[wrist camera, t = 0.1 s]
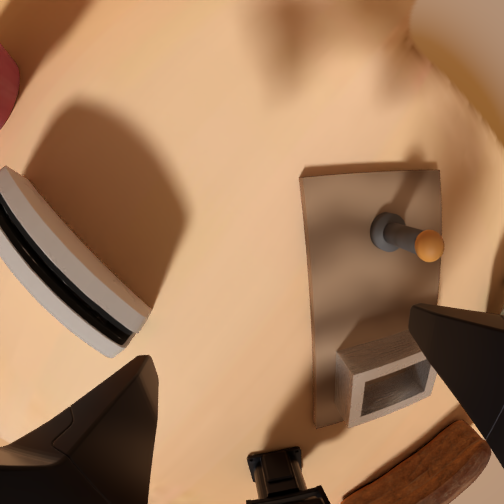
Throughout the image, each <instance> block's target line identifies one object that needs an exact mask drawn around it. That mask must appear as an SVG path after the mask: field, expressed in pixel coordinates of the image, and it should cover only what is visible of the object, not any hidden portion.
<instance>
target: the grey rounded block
mask: <svg viewBox="0 0 504 504" xmlns="http://www.w3.org/2000/svg"><path fill="white" fill-rule="evenodd" d="M0 257H1V258H2V260H3V261H4V263H5V264H6V265H7V267H8V268H9V269H10V270H11V272H12V273H13V274H14V276H15V277H16V278H17V279H18V280H19V281H20V283H21V284H22V285H23V286H24V287H25V288H26V289H27V291H28V292H29V293H30V294H31V295H32V296H33V297H34V298H35V299H36V300H37V301H38V302H39V303H40V304H41V305H42V306H43V307H44V308H45V309H46V310H47V311H48V312H49V313H50V314H51V315H52V316H54V317H55V318H56V319H57V320H58V321H59V322H60V323H61V324H63V325H64V326H65V327H66V328H67V329H68V330H70V331H71V332H72V333H73V334H75V335H76V336H77V337H79V338H80V339H81V340H83V341H84V342H85V343H87V344H88V345H90V346H91V347H93V348H94V349H95V350H97V351H98V352H100V353H101V354H103V355H105V356H106V357H109V358H114V357H115V356H116V355H117V354H119V353H120V352H121V351H122V350H124V349H125V348H126V347H127V345H128V344H129V343H130V341H131V340H132V338H133V337H134V336H135V334H136V333H139V331H140V330H141V328H142V327H143V325H144V324H145V322H146V321H147V319H148V317H149V315H150V313H151V311H152V309H151V308H150V307H149V306H147V305H146V304H145V303H144V302H143V301H142V300H141V299H140V298H139V297H137V296H136V295H135V294H134V293H133V292H132V291H131V290H130V289H129V288H128V287H127V286H126V285H125V284H123V283H122V282H121V281H120V280H119V279H118V278H117V277H116V276H115V275H114V274H113V273H112V272H111V271H110V270H109V269H108V268H107V267H106V266H105V265H104V264H103V263H102V262H101V261H100V260H99V259H98V258H97V257H96V256H95V255H94V254H93V253H92V252H91V251H90V250H89V249H88V248H87V247H86V246H85V245H84V244H83V243H82V241H81V240H80V239H79V238H78V237H77V236H76V235H75V234H74V233H73V232H72V231H71V230H70V229H69V227H68V226H67V225H66V224H65V223H64V222H63V221H62V220H61V218H60V217H59V216H58V215H57V214H56V213H55V212H54V210H53V209H52V208H51V207H50V206H49V205H48V203H47V202H46V201H45V200H44V199H43V197H42V196H41V195H40V194H39V193H38V191H37V190H36V189H35V188H34V186H33V185H32V184H31V183H30V181H29V180H28V179H26V178H25V177H23V176H22V175H20V174H18V173H17V172H15V171H14V170H12V169H11V168H9V167H7V166H4V167H3V168H2V169H1V170H0Z"/></svg>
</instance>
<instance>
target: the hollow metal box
mask: <svg viewBox="0 0 504 504" xmlns="http://www.w3.org/2000/svg"><path fill="white" fill-rule="evenodd" d="M406 367H407V368H406ZM403 368H406V372H404V373H401V374H398V375H396V376H393V377H390V378H388V379H385V380H382V381H379V382H377V383H374V384H371V385H368V386H365V382H367V381H370V380H373V379H376V378H379V377H381V376H384V375H387V374H390V373H392V372H395V371H398V370H400V369H403ZM436 374H437V372H436V371H435V370H434V368H433V367H432V366H431V364H430V363H429V362H428V360H427V359H426V357H425V356H424V354H423V353H422V351H421V349H420V348H419V346H418V345H417V343H416V341H415V340H414V338H413V337H412V335H411V334H410V332H409V329H408V330H405V331H402V332H399V333H396V334H393V335H390V336H387V337H384V338H380V339H377V340H374V341H371V342H367V343H364V344H360V345H357V346H353V347H350V348H346V349H342V350H338V351H336V377H335V401H334V404H335V406H336V407H337V409H338V411H339V413H340V415H341V417H342V418H343V420H344V422H345V424H346V426H347V428H351V427H354V426H357V425H360V424H363V423H366V422H368V421H371V420H374V419H377V418H379V417H382V416H384V415H387V414H390V413H392V412H394V411H397V410H399V409H402V408H404V407H406V406H409V405H411V404H413V403H415V402H417V401H420V400H422V399H424V398H426V397H428V396H430V395H431V392H432V389H433V385H434V382H435V378H436Z"/></svg>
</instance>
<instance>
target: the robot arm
mask: <svg viewBox="0 0 504 504" xmlns="http://www.w3.org/2000/svg"><path fill="white" fill-rule="evenodd" d="M408 329H409V332H410V334H411V335H412V337H413V338H414V340H415V341H416V343H417V345H418V346H419V348H420V349H421V351H422V353H423V354H424V356H425V357H426V359H427V360H428V362H429V363H430V364H431V366H432V367H433V368H434V370H435V371H436V372H437V373H438V375H439V376H440V377H441V379H442V380H443V381H444V383H445V384H446V385H447V387H448V388H449V389H450V391H451V392H452V393H453V395H454V396H455V397H456V399H457V400H458V401H459V403H460V404H461V405H462V407H463V408H464V410H465V411H466V412H467V414H468V415H469V417H470V418H471V419H472V421H473V422H474V424H475V425H476V427H477V428H478V430H479V431H480V433H481V434H482V435H483V437H484V438H485V439H486V442H487V443H488V445H489V446H490V448H491V449H492V451H493V452H494V454H495V455H496V457H497V459H498V460H499V462H500V463H501V465H502V467H503V468H504V315H499V314H492V313H485V312H478V311H471V310H464V309H457V308H451V307H444V306H438V305H431V304H425V303H418V304H415V305H413V306H411V308H410V314H409V323H408ZM158 386H159V380H158V375H157V372H156V369H155V366H154V363H153V360H152V358H151V356H150V355H139V356H137V357H135V358H134V359H133V360H131V361H130V362H129V363H127V364H126V365H125V366H123V367H122V368H121V369H119V370H118V371H117V372H115V373H114V374H113V375H111V376H110V377H109V378H107V379H106V380H105V381H103V382H102V383H101V384H99V385H98V386H97V387H95V388H94V389H93V390H91V391H90V392H88V393H87V394H86V395H84V396H83V397H82V398H80V399H79V400H78V401H76V402H75V403H74V404H72V405H71V407H68V408H67V409H65V410H64V411H63V412H61V413H60V414H58V415H57V416H55V417H54V418H53V419H51V420H50V421H48V422H46V423H45V424H43V425H42V426H40V427H38V428H37V429H35V430H33V431H32V432H30V433H28V434H26V435H25V436H23V437H21V438H20V439H18V440H16V441H14V442H13V443H11V444H9V445H6V446H3V447H0V504H148V494H149V484H150V474H151V466H152V458H153V450H154V442H155V435H156V428H157V420H158ZM247 461H248V465H249V469H250V472H251V476H252V479H253V482H256V487H257V493H258V498H259V499H256V500H246V504H330V502H329V500H328V498H327V496H326V494H325V492H324V490H323V488H322V486H321V485H320V486H316V487H315V488H311V489H307V487H306V484H305V481H304V478H303V475H302V469H301V449H300V447H294V448H290V449H285V450H280V451H275V452H270V453H265V454H259V455H253V456H249V457H247Z"/></svg>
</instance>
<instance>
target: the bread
mask: <svg viewBox="0 0 504 504" xmlns="http://www.w3.org/2000/svg"><path fill="white" fill-rule="evenodd" d="M490 456H491V448H490V446H489V445H488V443H487V442H486V441H485V440H483V439H482V438H481V437H480V436H479V435H478V434H477V433H476V431H475V430H474V429H473V428H472V427H470V426H469V425H468V424H467V423H466V422H465V421H461V420H460V421H456V422H454V423H453V424H451V425H450V426H448V427H447V428H446V429H444V430H443V431H442V432H441V433H439V434H438V435H437V436H436V437H435V438H434V439H433V440H432V441H430V442H429V443H428V444H427V445H426V446H424V447H423V448H422V449H420V450H419V451H418V452H416V453H415V454H414V455H412V456H411V457H409V458H408V459H406V460H405V461H403V462H402V463H400V464H399V465H397V466H396V467H395V468H393V469H392V470H391V471H389V472H388V473H387V474H385V475H384V476H382V477H381V478H379V479H378V480H376V481H374V482H373V483H371V484H369V485H367V486H365V487H364V488H362V489H360V490H358V491H356V492H354V493H353V494H351V495H350V496H348V497H347V498H346V499H344V500H343V501H342V502H341V504H449V503H450V502H451V501H453V500H454V499H455V498H456V497H457V496H458V495H460V494H461V493H462V492H463V491H464V490H465V489H467V488H468V487H469V486H470V485H471V484H472V483H473V482H474V481H475V480H476V479H477V478H478V476H479V475H480V474H481V473H482V471H483V470H484V468H485V467H486V465H487V464H488V462H489V459H490Z"/></svg>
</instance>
